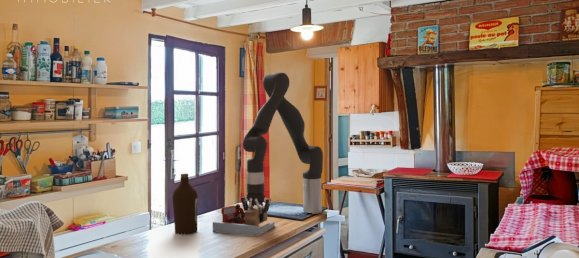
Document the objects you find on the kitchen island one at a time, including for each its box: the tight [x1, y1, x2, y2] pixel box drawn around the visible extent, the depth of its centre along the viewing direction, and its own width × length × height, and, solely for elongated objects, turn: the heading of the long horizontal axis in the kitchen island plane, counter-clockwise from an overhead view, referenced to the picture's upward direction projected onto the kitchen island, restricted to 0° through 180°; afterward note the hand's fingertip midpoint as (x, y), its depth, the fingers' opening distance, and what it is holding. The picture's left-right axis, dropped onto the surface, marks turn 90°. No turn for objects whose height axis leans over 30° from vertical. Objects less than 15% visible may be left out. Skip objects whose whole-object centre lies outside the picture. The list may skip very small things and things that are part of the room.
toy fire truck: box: [220, 203, 245, 224], centre depth 203 cm, size 7×12×10 cm, turn 134°
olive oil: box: [171, 173, 199, 235], centre depth 198 cm, size 11×11×25 cm
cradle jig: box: [212, 220, 275, 237], centre depth 202 cm, size 16×22×4 cm
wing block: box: [244, 206, 268, 226], centre depth 200 cm, size 12×4×6 cm, turn 156°
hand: (256, 221), depth 200 cm, fingers closed on wing block, 4 cm apart
